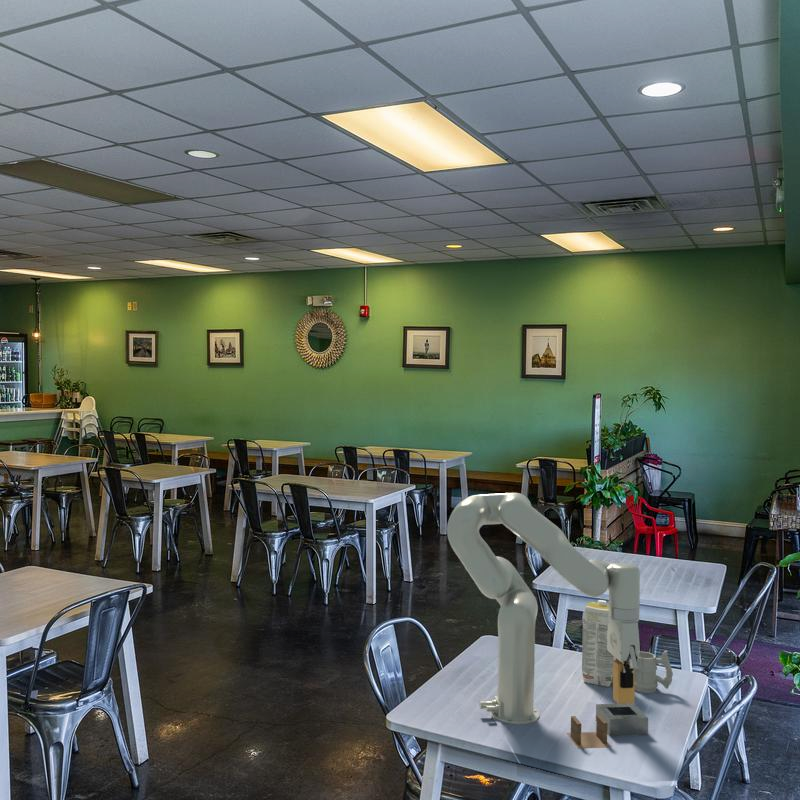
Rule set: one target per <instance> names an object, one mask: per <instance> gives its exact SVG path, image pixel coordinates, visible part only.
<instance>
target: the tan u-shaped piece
mask: <svg viewBox="0 0 800 800" xmlns="http://www.w3.org/2000/svg"><path fill="white" fill-rule="evenodd" d="M595 721H596V720H595ZM595 724H596V726H595V727H596V728H595V729H596V730H595V731H590V732H589V731H588V732H582V723H581V722H580V720H579V719H578V718H577V717H576V716H575V715H571V716H570V732H567V733H566V735H567V736H568V737H569V738H570V740H571V741H572V743H573V744H574V745H575V747H577V749H599V748H600V749H601V748H612V745H611V744H610V743H609V742H608V734H607V724H608V723H607V722H606V721H605V720H604V719H603V717H602V716H601V715H597V721H596V723H595Z"/></svg>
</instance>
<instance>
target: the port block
mask: <svg viewBox="0 0 800 800" xmlns="http://www.w3.org/2000/svg"><path fill="white" fill-rule="evenodd" d="M595 704H596V703H595ZM597 715H601V716H602V717H603V719H604V720H605V721H606V722H607V723H608V724H607V736H608V737H625V736H627V737H629V736H630V737H631V736H632V737H633V736H649V717H648V716H647V715H646V714H645V713H644V712H642V710H640V708H639V707H638V706H636V705H635V703H626V704H618V703H599V704H598V703H597V704H596V705H595V721H597Z"/></svg>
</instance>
